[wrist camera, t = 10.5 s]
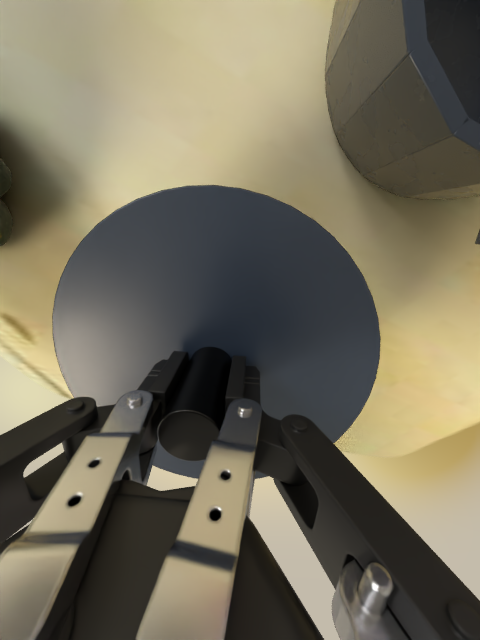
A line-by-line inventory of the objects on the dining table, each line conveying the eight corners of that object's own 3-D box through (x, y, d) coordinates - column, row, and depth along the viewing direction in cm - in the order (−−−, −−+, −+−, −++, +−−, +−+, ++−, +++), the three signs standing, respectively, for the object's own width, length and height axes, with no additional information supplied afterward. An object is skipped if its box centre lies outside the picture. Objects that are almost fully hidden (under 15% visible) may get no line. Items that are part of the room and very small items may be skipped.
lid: (92, 454, 19) (18, 558, 13) (35, 179, 12) (-161, 141, 7) (338, 476, 18) (378, 597, 12) (410, 197, 12) (564, 171, 6)
